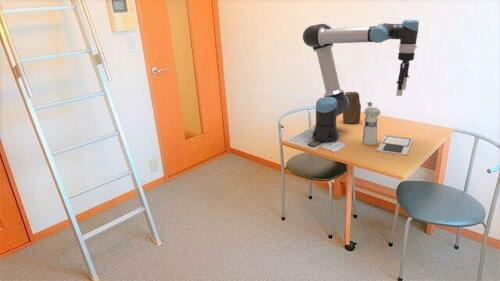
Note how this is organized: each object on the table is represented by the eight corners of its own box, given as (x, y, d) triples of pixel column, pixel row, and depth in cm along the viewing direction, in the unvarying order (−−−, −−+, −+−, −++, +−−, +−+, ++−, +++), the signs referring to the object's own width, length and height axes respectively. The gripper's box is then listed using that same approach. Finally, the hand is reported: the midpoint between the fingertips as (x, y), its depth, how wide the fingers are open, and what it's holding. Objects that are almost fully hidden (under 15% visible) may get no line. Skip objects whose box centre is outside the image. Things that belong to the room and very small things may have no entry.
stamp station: (376, 151, 191) (376, 148, 190) (385, 137, 208) (385, 134, 208) (406, 155, 183) (407, 153, 183) (412, 140, 201) (413, 138, 201)
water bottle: (378, 145, 198) (382, 101, 189) (362, 144, 200) (365, 101, 190) (376, 139, 205) (380, 97, 196) (361, 139, 207) (364, 97, 198)
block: (342, 123, 233) (344, 93, 226) (342, 120, 240) (343, 91, 233) (360, 124, 231) (362, 93, 224) (359, 120, 238) (361, 91, 230)
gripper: (411, 56, 171) (405, 99, 179) (417, 48, 191) (411, 87, 199) (395, 55, 174) (389, 97, 182) (402, 48, 194) (397, 86, 202)
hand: (400, 92), depth 191 cm, fingers open, 13 cm apart
